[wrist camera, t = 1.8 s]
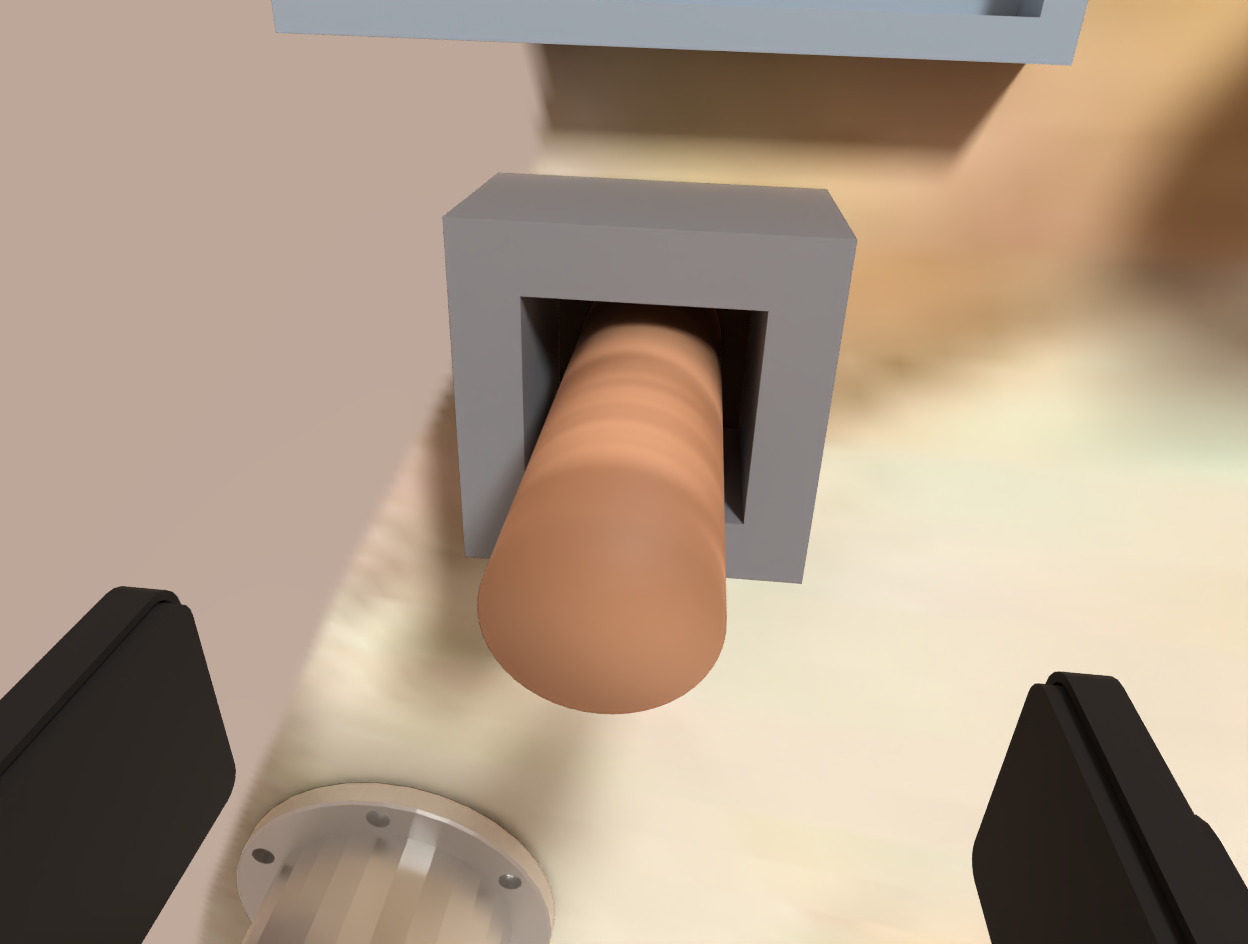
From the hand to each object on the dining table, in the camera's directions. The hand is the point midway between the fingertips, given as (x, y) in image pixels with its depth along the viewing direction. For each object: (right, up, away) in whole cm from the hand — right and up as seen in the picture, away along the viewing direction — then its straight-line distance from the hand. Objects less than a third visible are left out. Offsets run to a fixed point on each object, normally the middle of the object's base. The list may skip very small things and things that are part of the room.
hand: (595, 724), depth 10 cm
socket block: (+1, +6, +13) cm, 15 cm away
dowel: (+1, +6, +13) cm, 15 cm away
